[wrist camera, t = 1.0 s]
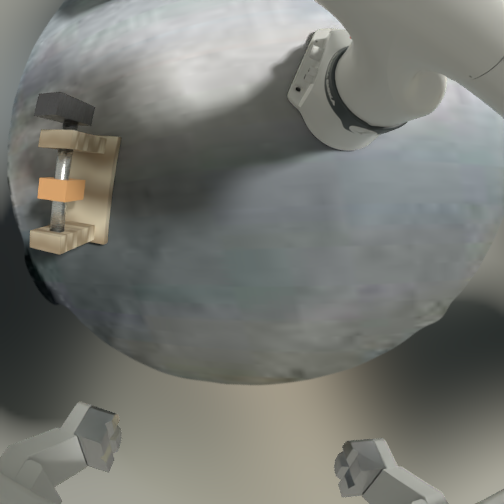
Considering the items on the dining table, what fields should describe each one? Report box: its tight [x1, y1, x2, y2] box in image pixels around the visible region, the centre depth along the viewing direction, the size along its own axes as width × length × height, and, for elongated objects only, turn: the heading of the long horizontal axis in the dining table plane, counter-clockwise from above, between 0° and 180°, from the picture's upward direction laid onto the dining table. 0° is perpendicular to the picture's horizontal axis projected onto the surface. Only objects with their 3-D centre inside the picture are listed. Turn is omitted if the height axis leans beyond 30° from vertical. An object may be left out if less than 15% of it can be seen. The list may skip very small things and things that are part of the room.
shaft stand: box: [30, 130, 121, 255], centre depth 40 cm, size 18×10×12 cm, turn 169°
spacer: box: [38, 177, 86, 202], centre depth 38 cm, size 3×5×5 cm, turn 79°
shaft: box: [34, 92, 95, 233], centre depth 35 cm, size 22×4×10 cm, turn 169°
